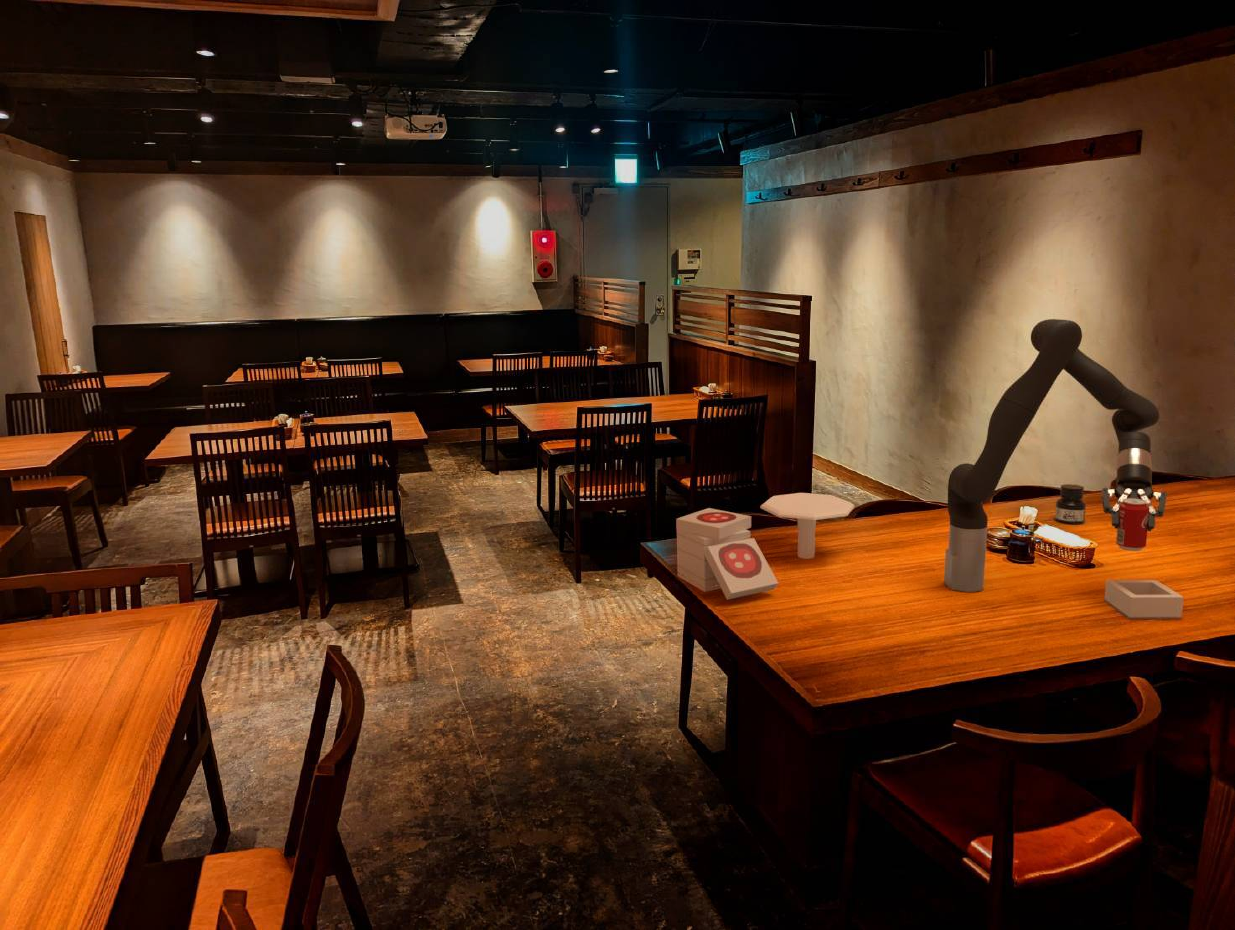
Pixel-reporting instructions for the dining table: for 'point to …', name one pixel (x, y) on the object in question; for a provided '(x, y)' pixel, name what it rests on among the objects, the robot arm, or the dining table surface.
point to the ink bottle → (1070, 505)
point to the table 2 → (807, 514)
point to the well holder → (1143, 599)
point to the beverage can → (1132, 524)
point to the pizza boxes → (721, 554)
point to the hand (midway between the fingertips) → (1133, 528)
